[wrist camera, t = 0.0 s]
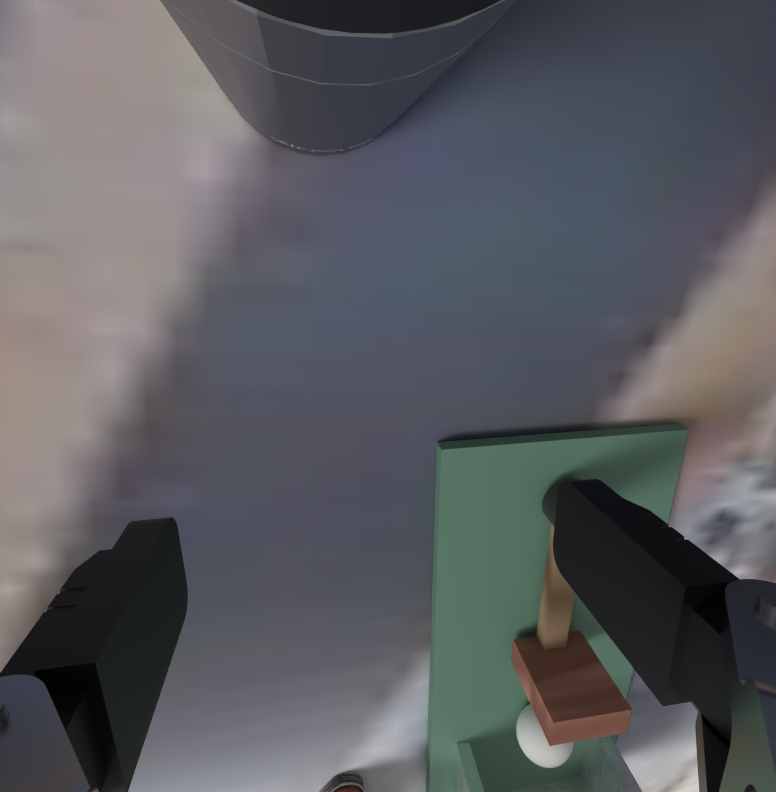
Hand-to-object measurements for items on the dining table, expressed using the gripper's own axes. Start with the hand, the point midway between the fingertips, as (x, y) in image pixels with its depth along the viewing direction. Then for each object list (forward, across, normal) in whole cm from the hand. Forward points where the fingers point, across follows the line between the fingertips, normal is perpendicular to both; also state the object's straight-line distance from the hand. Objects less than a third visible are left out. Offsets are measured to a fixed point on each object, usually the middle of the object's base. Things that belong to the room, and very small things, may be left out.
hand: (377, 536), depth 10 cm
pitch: (+19, -14, +22) cm, 32 cm away
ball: (+16, -14, +29) cm, 36 cm away
